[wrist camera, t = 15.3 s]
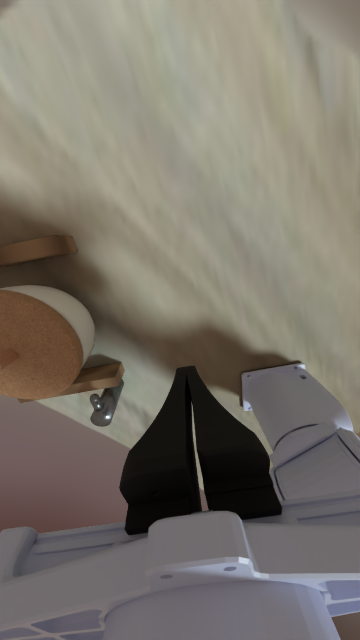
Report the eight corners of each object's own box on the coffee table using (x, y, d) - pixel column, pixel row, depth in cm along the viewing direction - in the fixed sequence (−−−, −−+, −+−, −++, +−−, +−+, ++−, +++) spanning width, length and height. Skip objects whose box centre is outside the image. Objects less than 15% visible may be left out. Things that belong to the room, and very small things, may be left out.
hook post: (116, 364, 25) (100, 398, 19) (125, 387, 27) (113, 424, 21) (100, 367, 25) (79, 401, 19) (110, 390, 27) (95, 427, 21)
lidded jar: (44, 359, 24) (-28, 423, 15) (-1, 284, 20) (-135, 314, 11) (119, 347, 24) (88, 405, 15) (90, 267, 19) (25, 285, 11)
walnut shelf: (72, 236, 18) (54, 234, 15) (124, 370, 25) (118, 385, 23) (-49, 261, 19) (-87, 264, 16) (36, 385, 26) (20, 402, 23)
